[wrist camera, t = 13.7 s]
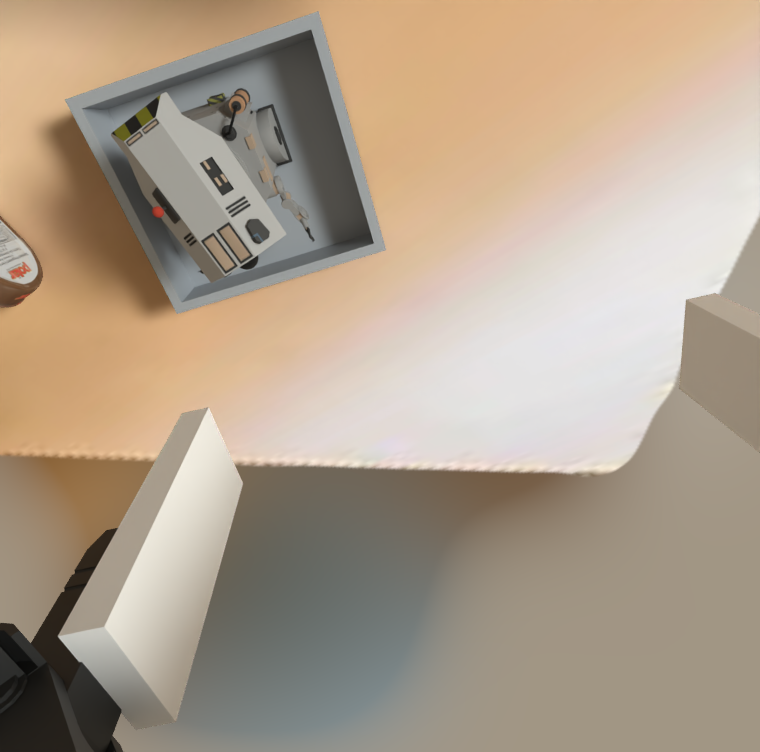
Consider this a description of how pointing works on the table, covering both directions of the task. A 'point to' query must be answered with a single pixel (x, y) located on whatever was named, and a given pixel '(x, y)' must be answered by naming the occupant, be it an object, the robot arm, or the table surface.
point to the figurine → (212, 176)
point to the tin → (16, 267)
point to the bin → (300, 177)
